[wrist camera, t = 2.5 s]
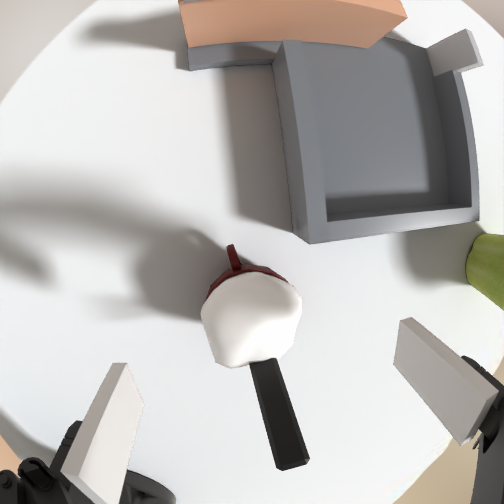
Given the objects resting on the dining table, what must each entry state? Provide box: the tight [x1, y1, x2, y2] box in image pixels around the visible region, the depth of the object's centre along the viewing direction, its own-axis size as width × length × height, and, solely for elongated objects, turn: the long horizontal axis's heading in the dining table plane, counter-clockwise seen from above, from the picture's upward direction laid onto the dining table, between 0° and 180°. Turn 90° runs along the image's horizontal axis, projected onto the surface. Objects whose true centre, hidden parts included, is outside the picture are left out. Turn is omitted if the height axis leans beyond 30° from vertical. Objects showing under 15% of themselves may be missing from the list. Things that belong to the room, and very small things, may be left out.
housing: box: [187, 29, 483, 244], centre depth 15 cm, size 22×16×7 cm
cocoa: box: [200, 244, 310, 471], centre depth 15 cm, size 10×6×12 cm, turn 172°
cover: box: [178, 0, 408, 49], centre depth 12 cm, size 14×2×8 cm, turn 97°
